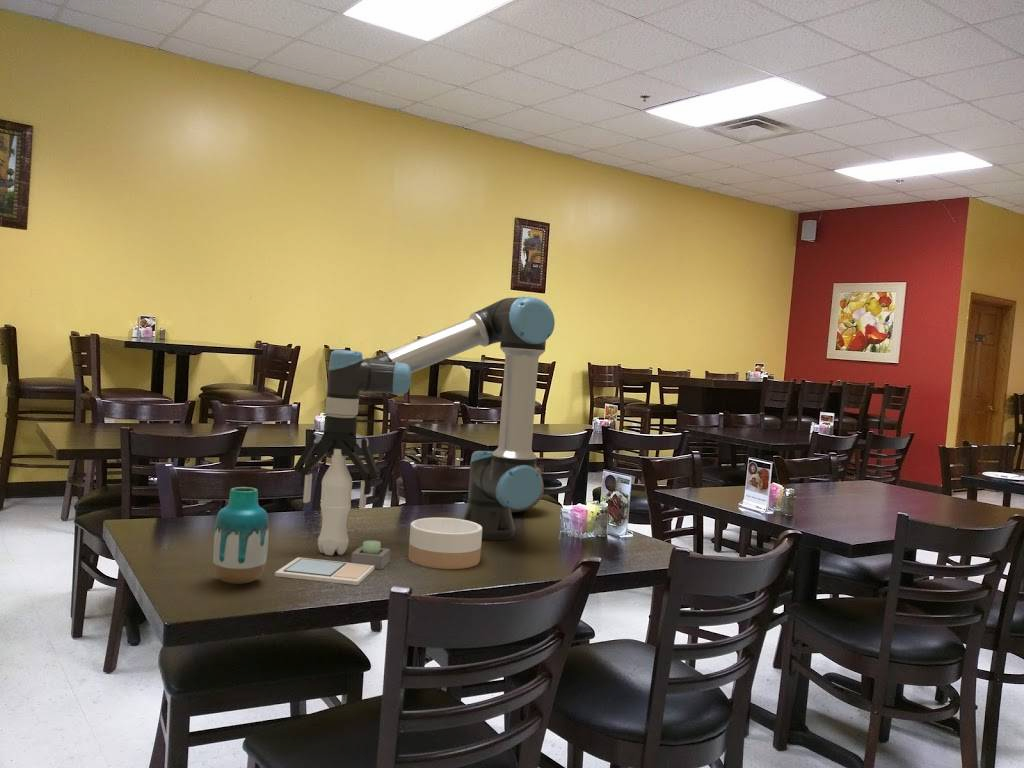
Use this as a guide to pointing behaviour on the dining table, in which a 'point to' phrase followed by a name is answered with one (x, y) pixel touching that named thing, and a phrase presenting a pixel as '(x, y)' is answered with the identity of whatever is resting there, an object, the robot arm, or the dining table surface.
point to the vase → (241, 538)
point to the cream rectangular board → (325, 571)
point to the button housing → (371, 558)
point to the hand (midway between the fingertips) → (334, 505)
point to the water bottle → (335, 506)
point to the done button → (371, 547)
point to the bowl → (445, 543)
